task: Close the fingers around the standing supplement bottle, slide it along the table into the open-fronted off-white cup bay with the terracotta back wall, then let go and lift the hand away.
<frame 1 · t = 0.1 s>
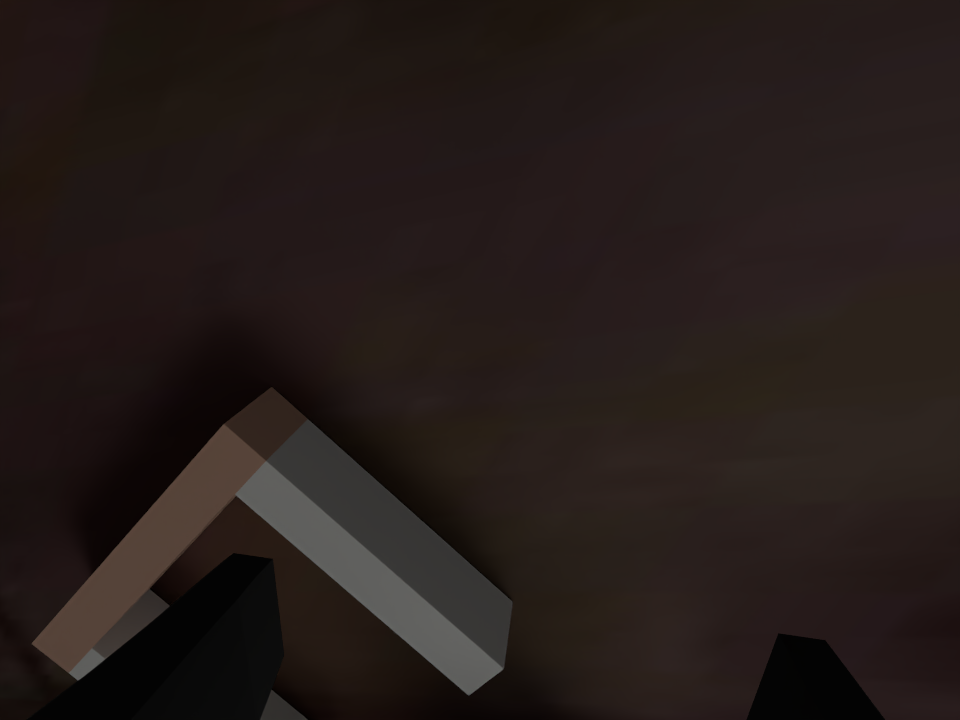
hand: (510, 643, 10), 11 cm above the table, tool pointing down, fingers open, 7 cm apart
cup bay: (310, 607, 23), on the table
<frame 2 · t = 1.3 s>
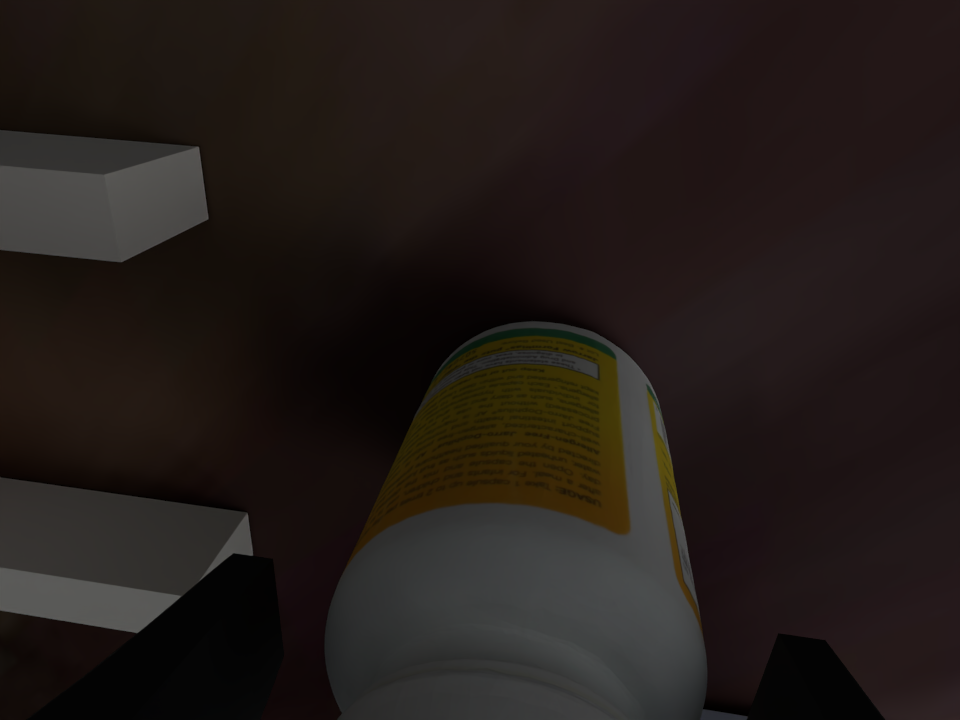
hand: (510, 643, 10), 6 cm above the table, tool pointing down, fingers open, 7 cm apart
supplement bottle: (540, 414, 15), on the table
cup bay: (58, 361, 16), on the table
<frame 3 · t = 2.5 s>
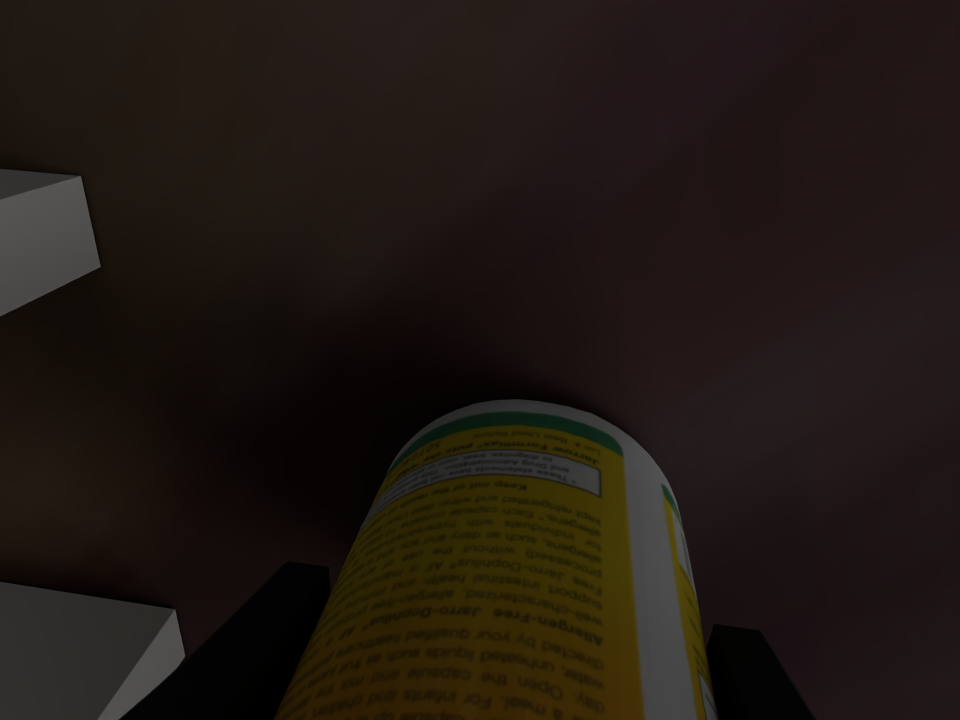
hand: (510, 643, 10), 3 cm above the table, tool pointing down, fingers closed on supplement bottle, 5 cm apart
supplement bottle: (526, 506, 12), on the table, touching gripper
when the fingers open (3 cm above the table, at t = 3.5 s): supplement bottle moves 5 cm, on the table.
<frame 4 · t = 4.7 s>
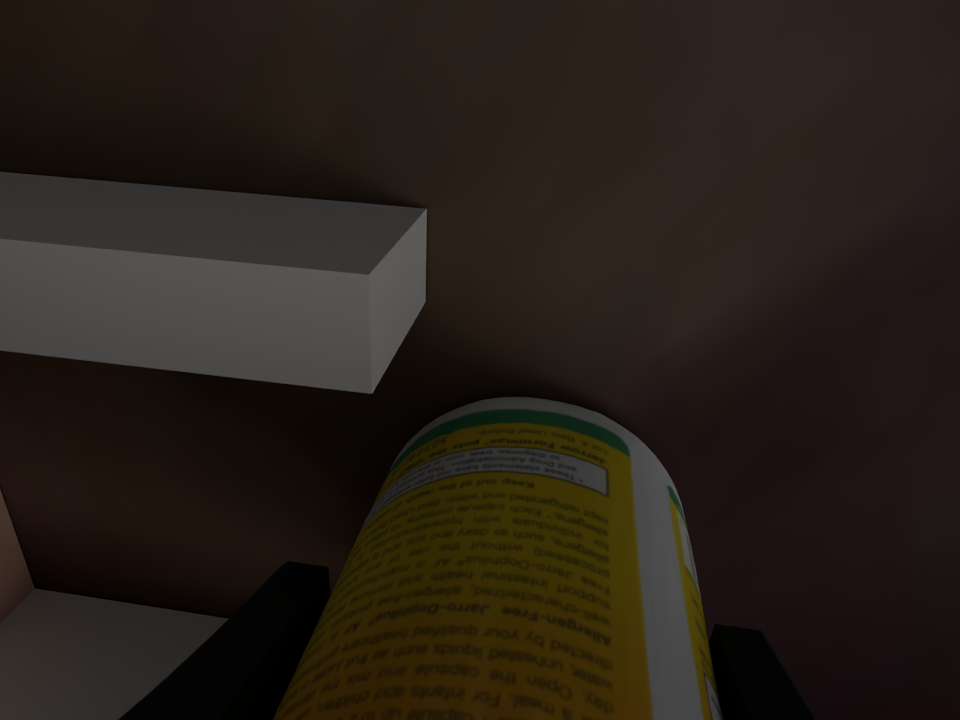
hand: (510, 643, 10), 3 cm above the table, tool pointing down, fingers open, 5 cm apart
supplement bottle: (529, 504, 12), on the table, touching gripper
cup bay: (195, 470, 13), on the table
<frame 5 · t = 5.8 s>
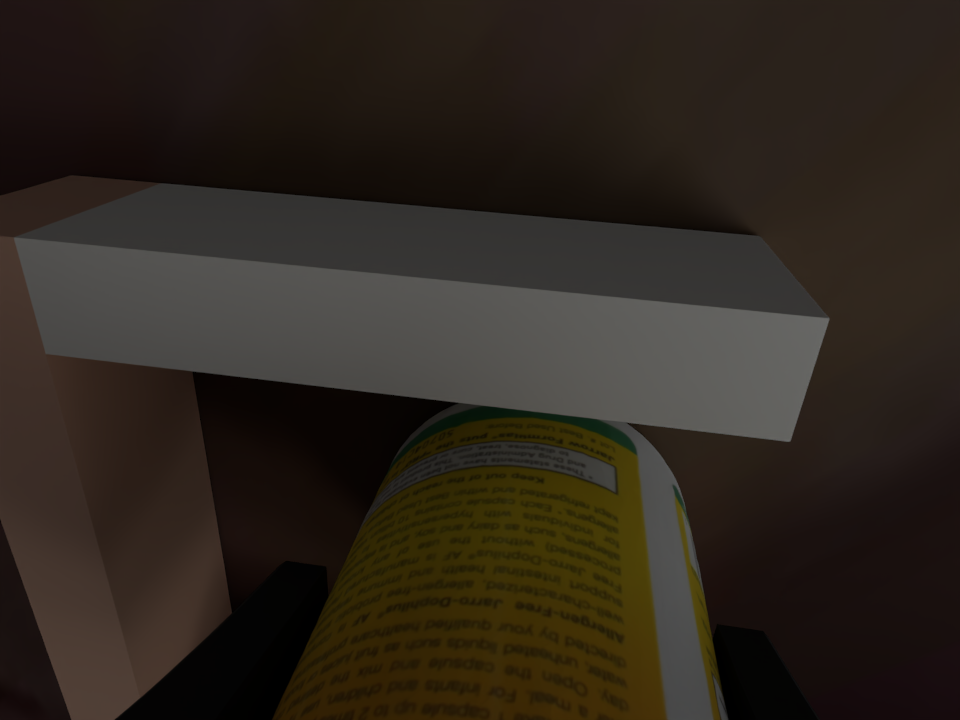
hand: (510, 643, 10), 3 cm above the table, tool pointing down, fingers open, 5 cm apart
supplement bottle: (530, 500, 12), on the table, touching gripper
cup bay: (437, 502, 12), on the table
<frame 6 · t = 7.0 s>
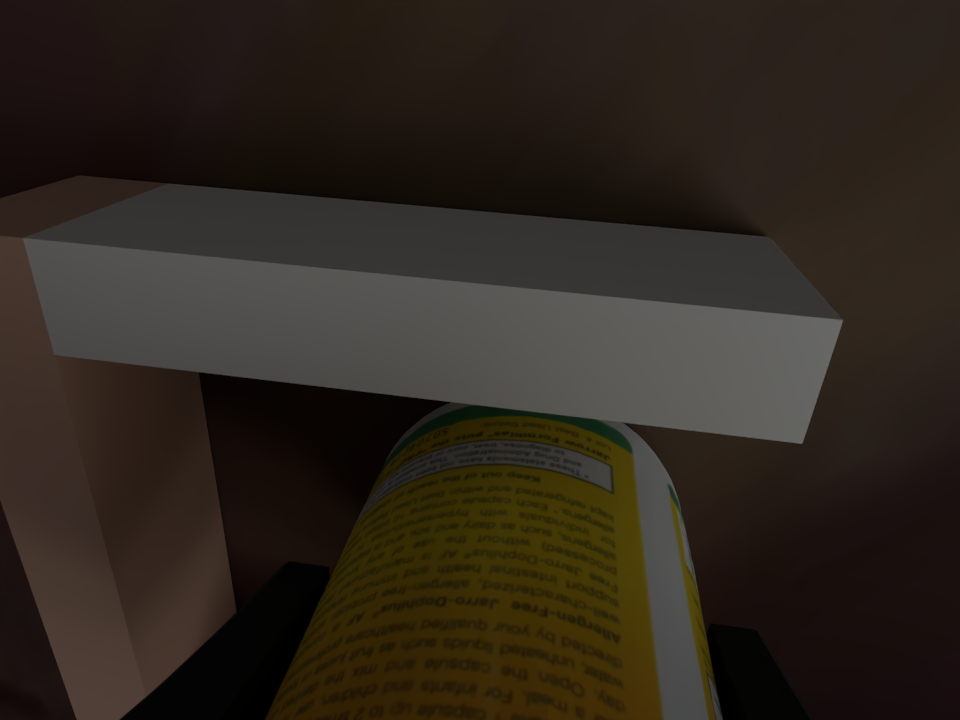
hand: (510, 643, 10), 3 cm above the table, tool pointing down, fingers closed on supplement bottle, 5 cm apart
supplement bottle: (524, 499, 12), on the table, touching gripper
cup bay: (444, 503, 12), on the table
when the fingers open (3 cm above the table, at t = 7.1 s): supplement bottle stays where it is, on the table.
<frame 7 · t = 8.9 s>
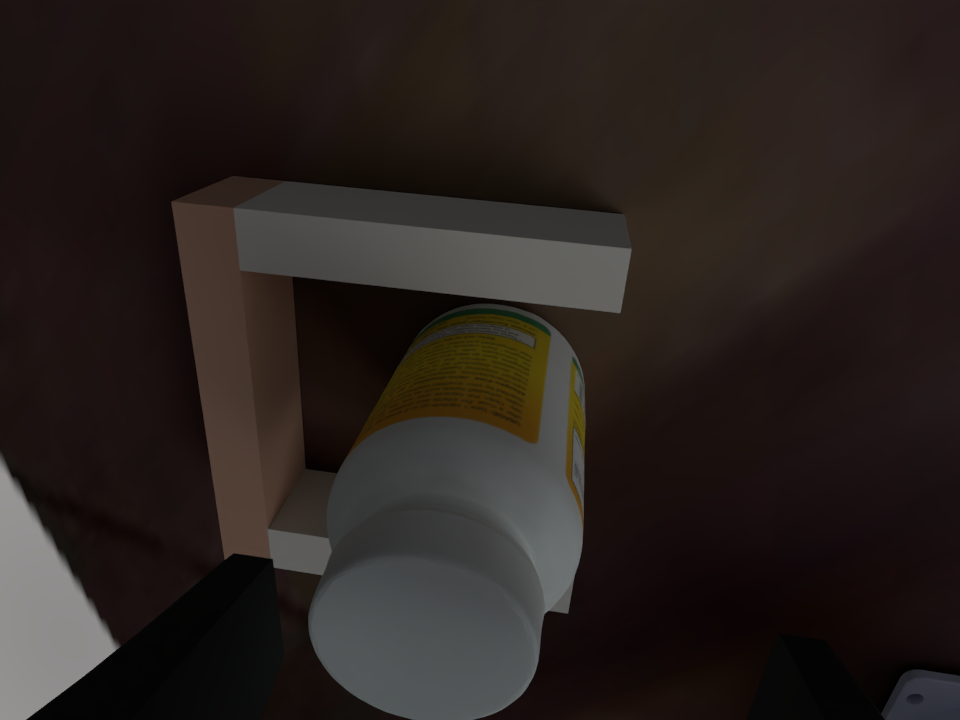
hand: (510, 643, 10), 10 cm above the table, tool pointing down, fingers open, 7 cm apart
supplement bottle: (493, 377, 20), on the table
cup bay: (442, 380, 20), on the table
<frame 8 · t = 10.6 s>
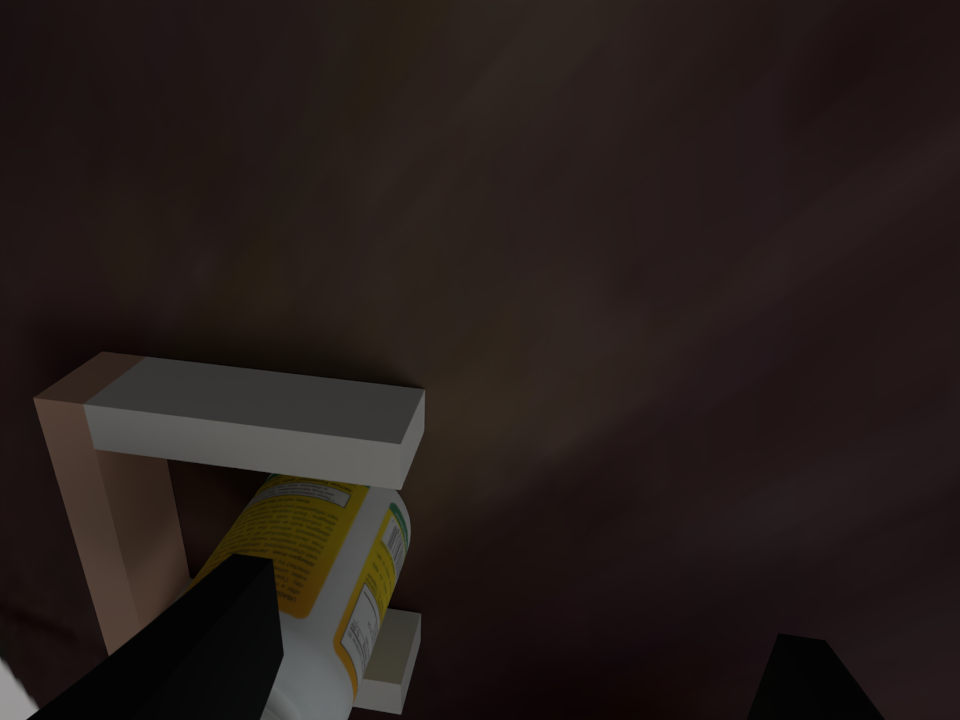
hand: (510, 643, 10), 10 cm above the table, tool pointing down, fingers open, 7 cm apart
supplement bottle: (339, 508, 23), on the table
cup bay: (295, 511, 23), on the table
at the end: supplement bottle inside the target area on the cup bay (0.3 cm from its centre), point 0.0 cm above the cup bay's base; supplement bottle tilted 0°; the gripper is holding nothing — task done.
